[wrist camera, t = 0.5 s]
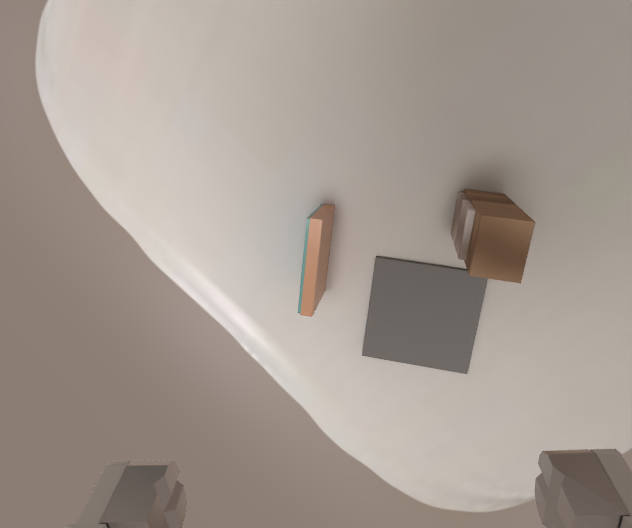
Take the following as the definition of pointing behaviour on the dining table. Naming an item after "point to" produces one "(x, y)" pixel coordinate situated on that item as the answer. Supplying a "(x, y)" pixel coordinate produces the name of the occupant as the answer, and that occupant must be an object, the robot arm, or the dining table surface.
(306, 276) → the tile
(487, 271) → the tall wooden block
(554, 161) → the dining table surface
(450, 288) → the rest mat
